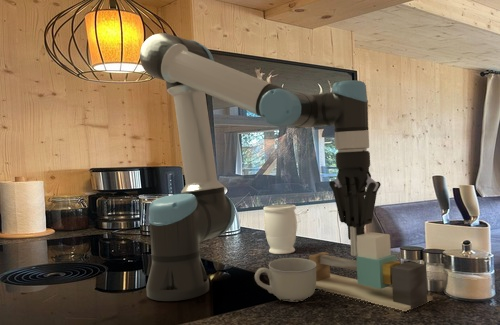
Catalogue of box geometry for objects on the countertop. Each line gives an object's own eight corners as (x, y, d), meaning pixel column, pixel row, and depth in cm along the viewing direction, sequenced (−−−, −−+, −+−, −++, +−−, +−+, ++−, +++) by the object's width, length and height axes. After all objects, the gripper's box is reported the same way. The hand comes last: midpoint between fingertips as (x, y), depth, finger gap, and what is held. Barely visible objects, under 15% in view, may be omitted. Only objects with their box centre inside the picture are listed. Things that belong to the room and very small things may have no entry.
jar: (298, 247, 158) (295, 203, 158) (298, 254, 148) (295, 207, 148) (266, 249, 159) (264, 204, 159) (264, 255, 149) (262, 208, 149)
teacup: (313, 289, 110) (312, 255, 110) (322, 304, 100) (320, 267, 99) (254, 293, 110) (252, 259, 110) (257, 309, 99) (254, 271, 99)
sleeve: (380, 289, 98) (378, 239, 98) (357, 283, 103) (355, 236, 103) (397, 282, 102) (395, 234, 102) (374, 277, 106) (372, 231, 106)
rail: (404, 313, 91) (402, 272, 91) (303, 286, 113) (301, 253, 113) (432, 301, 98) (430, 262, 97) (331, 277, 120) (329, 246, 119)
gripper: (386, 149, 103) (391, 255, 104) (341, 150, 113) (346, 247, 114) (364, 150, 98) (369, 262, 99) (320, 152, 108) (324, 253, 109)
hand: (357, 254), depth 106 cm, fingers closed
